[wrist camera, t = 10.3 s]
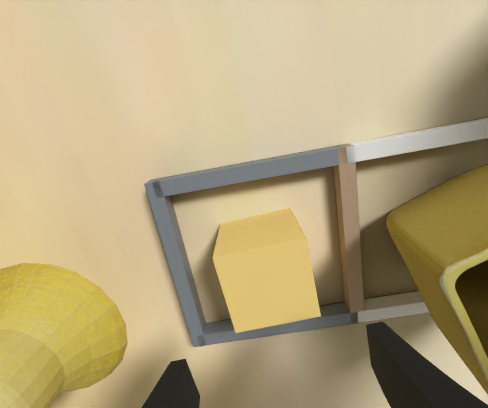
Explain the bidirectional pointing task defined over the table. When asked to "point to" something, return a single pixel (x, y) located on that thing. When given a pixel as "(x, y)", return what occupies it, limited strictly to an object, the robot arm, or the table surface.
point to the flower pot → (451, 260)
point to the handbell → (54, 334)
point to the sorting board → (348, 226)
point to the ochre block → (265, 271)
